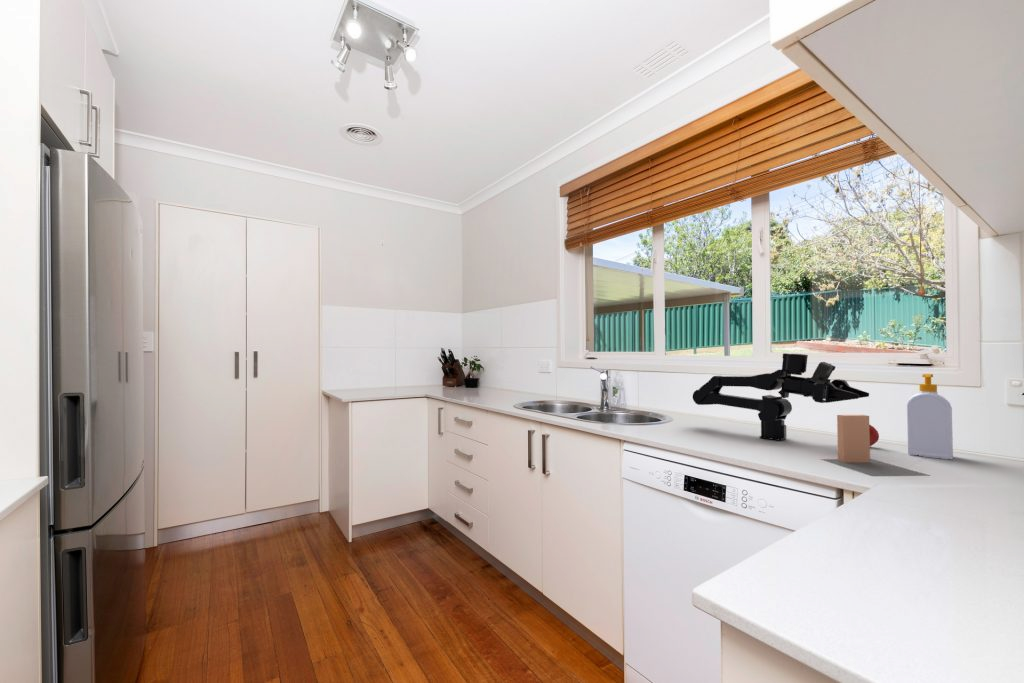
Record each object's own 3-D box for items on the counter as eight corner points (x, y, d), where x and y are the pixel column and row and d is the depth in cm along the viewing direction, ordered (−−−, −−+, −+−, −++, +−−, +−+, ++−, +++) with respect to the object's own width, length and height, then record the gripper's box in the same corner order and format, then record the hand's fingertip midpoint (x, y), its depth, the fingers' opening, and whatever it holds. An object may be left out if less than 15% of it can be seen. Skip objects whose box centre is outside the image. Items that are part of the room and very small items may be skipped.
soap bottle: (908, 455, 123) (906, 373, 124) (908, 451, 129) (906, 373, 129) (953, 460, 117) (951, 374, 118) (951, 456, 123) (949, 374, 123)
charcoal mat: (820, 460, 117) (820, 459, 117) (870, 460, 118) (870, 458, 118) (872, 477, 101) (872, 475, 101) (930, 477, 102) (930, 475, 102)
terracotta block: (837, 460, 115) (837, 414, 116) (863, 460, 116) (862, 414, 116) (844, 462, 113) (843, 415, 114) (870, 462, 114) (869, 415, 114)
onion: (851, 446, 135) (850, 420, 135) (860, 444, 138) (860, 419, 138) (873, 450, 130) (873, 423, 130) (883, 448, 133) (882, 421, 133)
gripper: (794, 361, 134) (856, 369, 122) (817, 361, 146) (876, 367, 133) (790, 397, 135) (852, 408, 123) (813, 394, 146) (872, 404, 134)
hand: (864, 395), depth 128 cm, fingers open, 9 cm apart
